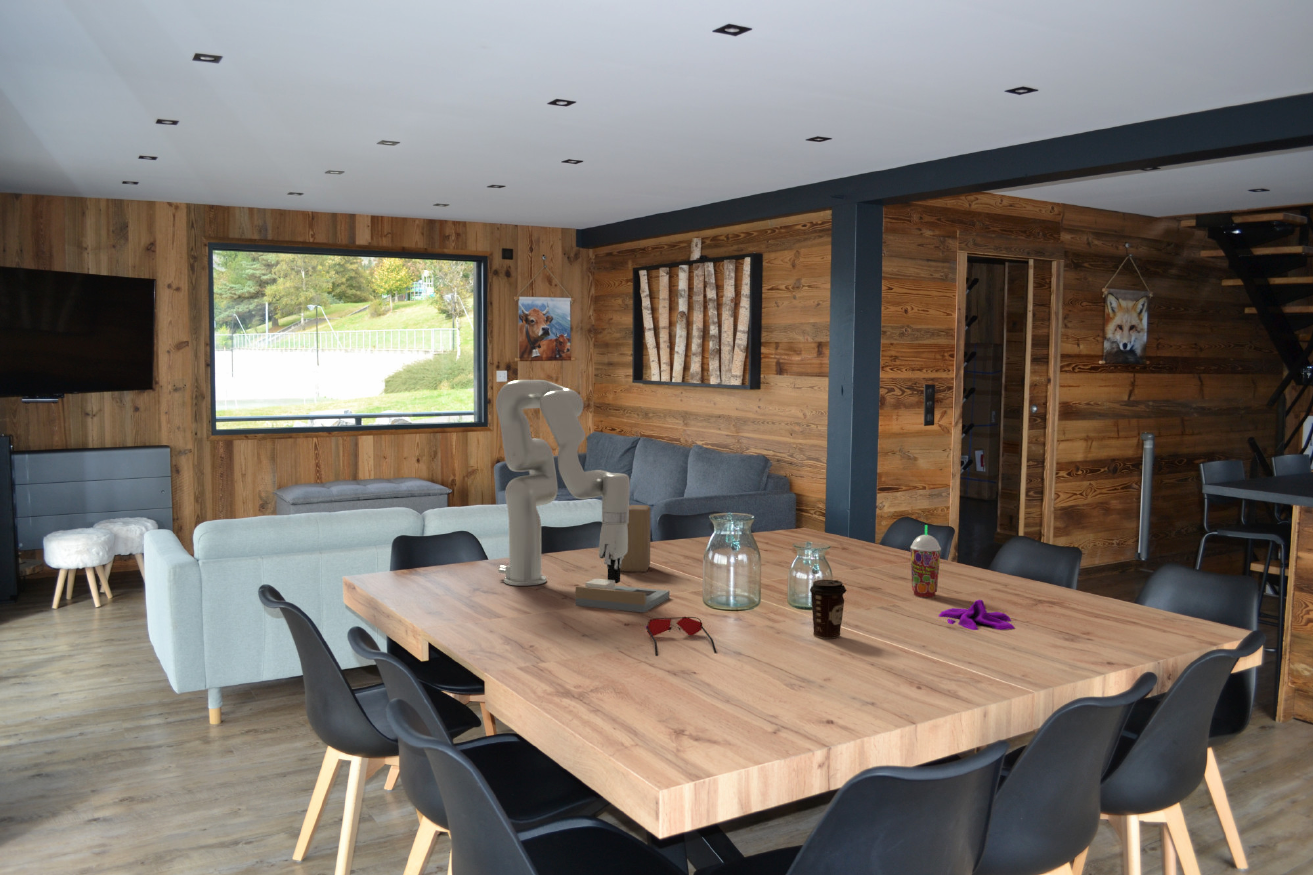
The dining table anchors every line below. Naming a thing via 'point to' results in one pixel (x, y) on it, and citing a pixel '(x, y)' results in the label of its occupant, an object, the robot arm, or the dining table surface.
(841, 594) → the coffee cup
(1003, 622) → the cloth
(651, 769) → the dining table surface
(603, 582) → the cream block
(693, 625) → the glasses
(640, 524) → the block
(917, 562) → the smoothie
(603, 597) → the board
